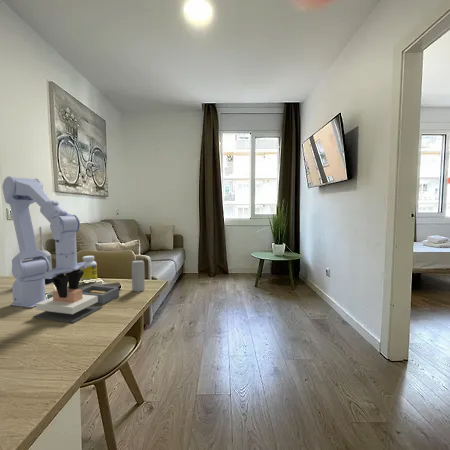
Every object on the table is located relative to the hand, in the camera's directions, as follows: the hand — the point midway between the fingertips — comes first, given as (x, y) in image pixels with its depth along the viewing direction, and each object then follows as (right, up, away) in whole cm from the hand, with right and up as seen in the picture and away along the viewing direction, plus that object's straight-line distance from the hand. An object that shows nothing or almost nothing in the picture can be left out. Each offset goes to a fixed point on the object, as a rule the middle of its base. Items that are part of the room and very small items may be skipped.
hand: (68, 295), depth 86 cm
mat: (0, -6, 0) cm, 6 cm away
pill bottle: (-11, -3, +35) cm, 37 cm away
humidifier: (-31, -3, +34) cm, 46 cm away
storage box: (+3, -5, +13) cm, 14 cm away
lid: (0, -3, 0) cm, 3 cm away
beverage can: (+15, -4, +23) cm, 28 cm away
